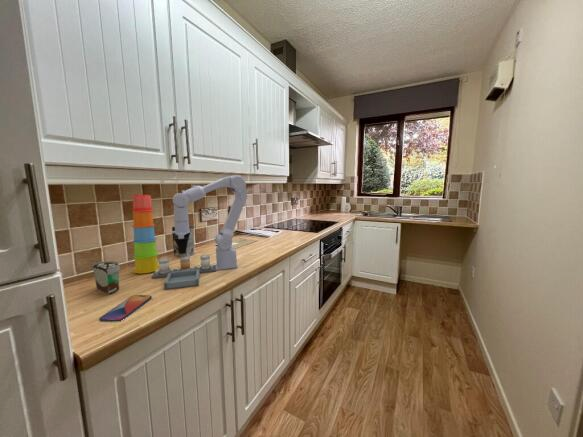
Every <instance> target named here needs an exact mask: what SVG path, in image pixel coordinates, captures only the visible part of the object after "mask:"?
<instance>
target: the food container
mask: <svg viewBox="0 0 583 437" xmlns="http://www.w3.org/2000/svg"><path fill="white" fill-rule="evenodd" d="M92 269H93V275H94V280H95V281H94V282H95V285H96V286H95V287H96V290H97V291H99V292H101V293H104V294H106V295H108V296H111V295H113V294H115V293H117V292H118V291H119V290H120V276H119V275H120V272H119V271H120V270H121V269H122V268H121V266H120V264H119V262H118V261H113V260H112V261H110V260H108V261H100V262H99V261H98V262H93V263H92Z"/></svg>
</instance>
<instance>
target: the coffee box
mask: <svg viewBox="0 0 583 437" xmlns="http://www.w3.org/2000/svg"><path fill="white" fill-rule="evenodd" d="M189 230H190V232H189V233H190V235H189V239H188V243H187V249H186V253H185V254H180V252H179V248H178V245H177V243H176V242H175V240H174V238H178V237H177V234H175V233H172V232H171V234H172V246H173V247H172V248H173V256H174V257H180V258H181V257H184V256H189V257H191V256H194V255H195V240H194V239H195V237H194V235H195V234H194V226H192V225H191V226H190V225H189ZM171 231H175V226H172V227H171Z"/></svg>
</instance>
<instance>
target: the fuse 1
mask: <svg viewBox="0 0 583 437" xmlns="http://www.w3.org/2000/svg"><path fill="white" fill-rule="evenodd" d="M157 261H158V266H159V269H158V270H159V273H160V274H168V273H169V272H170V269H171V267H170V259H169V258H168V257H164V258H159V259H157Z"/></svg>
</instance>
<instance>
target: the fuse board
mask: <svg viewBox="0 0 583 437" xmlns="http://www.w3.org/2000/svg"><path fill="white" fill-rule="evenodd" d="M196 269H199V273H200V274H205V273H206V274H208V273H215V272H217V270H216V264H214V263H212V264H211V263H210V269H208V270H201V264H200V265H197V266H194V265H192V266H190V270H196ZM177 271H181V266H179V267H177V268H174V267H173V268H172V267H170V272H177ZM167 276H168V274H160V273H159V269H158V270H156V271H154V272H152V275H151V277H150V278H151V279H161V278H167Z"/></svg>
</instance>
